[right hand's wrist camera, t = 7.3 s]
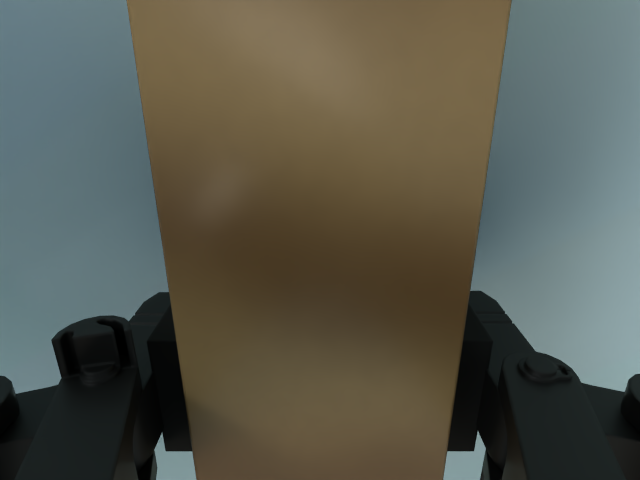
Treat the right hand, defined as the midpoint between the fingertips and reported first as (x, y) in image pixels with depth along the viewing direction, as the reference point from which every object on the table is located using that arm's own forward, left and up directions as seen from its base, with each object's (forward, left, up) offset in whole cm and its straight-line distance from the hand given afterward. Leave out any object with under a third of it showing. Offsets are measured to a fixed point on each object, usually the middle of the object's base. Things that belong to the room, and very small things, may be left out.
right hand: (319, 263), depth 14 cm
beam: (+17, +12, -1) cm, 20 cm away
